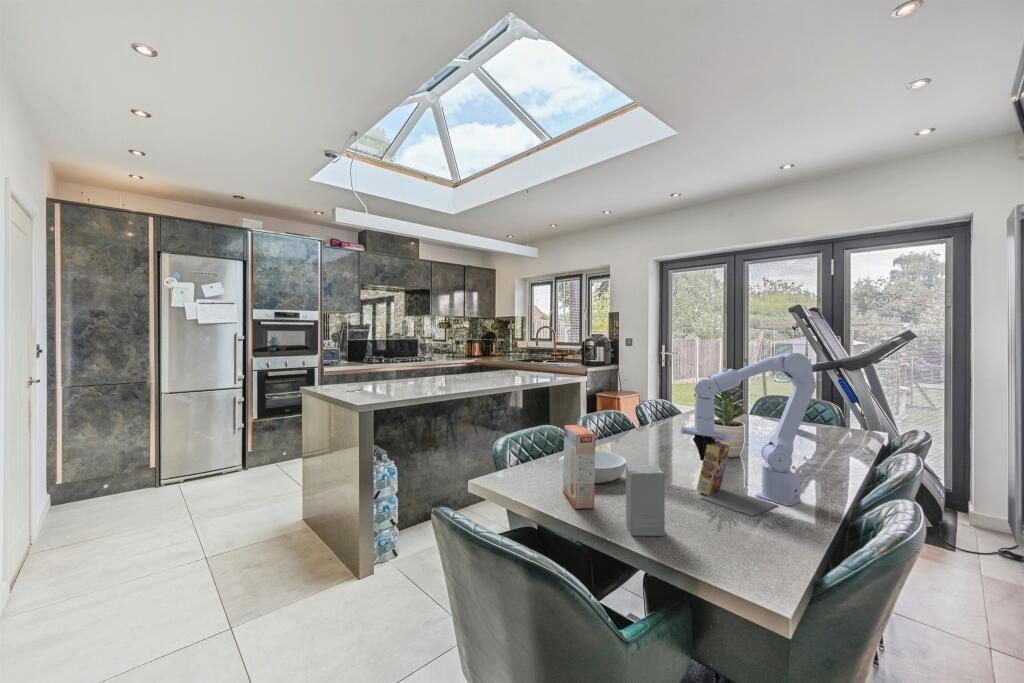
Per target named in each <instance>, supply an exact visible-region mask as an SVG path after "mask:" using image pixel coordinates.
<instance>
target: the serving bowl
mask: <svg viewBox="0 0 1024 683" xmlns="http://www.w3.org/2000/svg"><path fill="white" fill-rule="evenodd" d="M562 458H563V459H562V460H563V462H564V456H563V457H562ZM626 465H627V460H626V458H624V457H623V456H621V455H619V454H616V453H612V452H609V451H608V452H607V451H601V450H600V451H599V450H595V481H594V484H601V483H609V482H611V481H612V482H613V481H615V480H617V479H619V478H620V477H621V476H623V474H624V472H625V471H626Z"/></svg>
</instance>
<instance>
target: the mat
mask: <svg viewBox="0 0 1024 683" xmlns="http://www.w3.org/2000/svg"><path fill="white" fill-rule="evenodd" d="M700 499H701V500H703V501H706V502H709V503H711V504H715V505H718V506H720V507H723V508H725V509H729V510H731V511H734V512H737V513H739V514H743V515H746V516H749V517H755V516H758V515H760V514H762V513H764V512H766V511H769V510H773V509H774V508H776V507H778V506H779V504H776V503H774V502H773V503H772V502H770V501H766V500H763V499H759V498H757V497H753V496H751V495H746V494H744V493H740V492H737V491H734V490H731V489H729V488H728V489H727V488H726V489H724V490H722V491H717V492H714V493H713V494H711V495H709V496H708V495H705V496H703V497H700Z"/></svg>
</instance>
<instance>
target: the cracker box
mask: <svg viewBox="0 0 1024 683" xmlns="http://www.w3.org/2000/svg"><path fill="white" fill-rule="evenodd" d="M563 429H564V431H563V435H564V436H563V438H564V439H563V457H564V461H563V474H562V476H563V478H562V479H563V480H562V492H563V494H564V495H565V496H566V498H567V500H568V501H569V503H570V504H571V505H572V506H573V509H575V510H585V509H588V510H589V509H590V510H591V509H595V483H594V481H595V451H596V434H595V433H594V432H592V431H591V430H589V429H588V428H586V427H585V426H584V425H580V424H566V425H564V428H563Z"/></svg>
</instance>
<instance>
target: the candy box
mask: <svg viewBox="0 0 1024 683" xmlns="http://www.w3.org/2000/svg"><path fill="white" fill-rule="evenodd" d="M730 448H731V444H729V443H728V442H725V441H722V440H715V442H713V443H710V444H707V447H706V451H705V456H704V460H703V461H702V466H701V469H700V474H699V478H698V483H697V488H696V491H697V492H700V493H701V494H703V495H705V496H709V495H712V494H715V493H717V492H719V491H720V490H721V487H722V483H723V479H724V475H725V469H726V467H727V466H726V465H727V461H728V457H729V452H730Z"/></svg>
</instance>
